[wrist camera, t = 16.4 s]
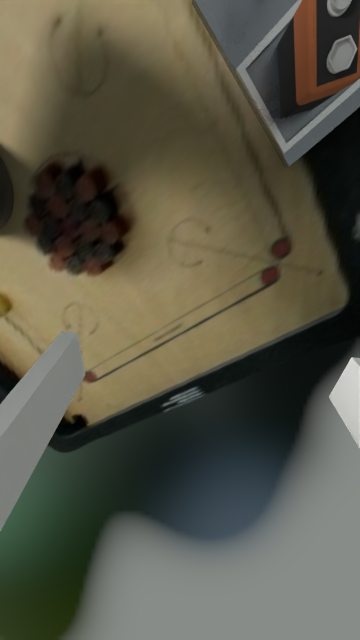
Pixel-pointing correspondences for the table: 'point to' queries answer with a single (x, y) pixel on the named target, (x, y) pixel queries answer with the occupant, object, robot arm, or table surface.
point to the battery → (318, 53)
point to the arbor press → (270, 71)
